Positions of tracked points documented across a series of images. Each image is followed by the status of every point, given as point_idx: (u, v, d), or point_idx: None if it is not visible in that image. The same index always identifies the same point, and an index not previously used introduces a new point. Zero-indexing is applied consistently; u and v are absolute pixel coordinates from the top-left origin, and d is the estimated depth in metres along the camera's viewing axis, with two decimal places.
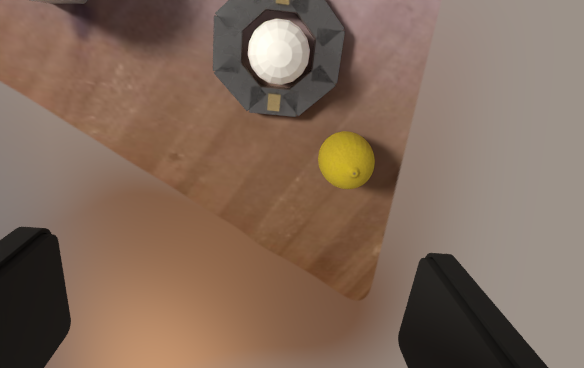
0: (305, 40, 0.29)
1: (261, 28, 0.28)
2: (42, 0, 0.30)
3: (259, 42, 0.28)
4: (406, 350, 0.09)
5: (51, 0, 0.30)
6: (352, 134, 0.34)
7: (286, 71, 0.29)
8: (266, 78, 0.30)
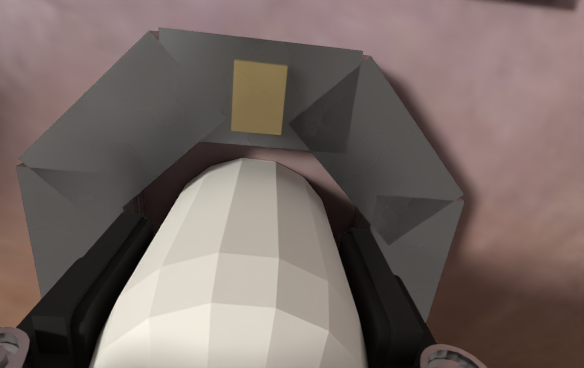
0: None
1: (127, 340, 0.05)
2: None
3: None
4: None
5: None
6: None
7: None
8: None
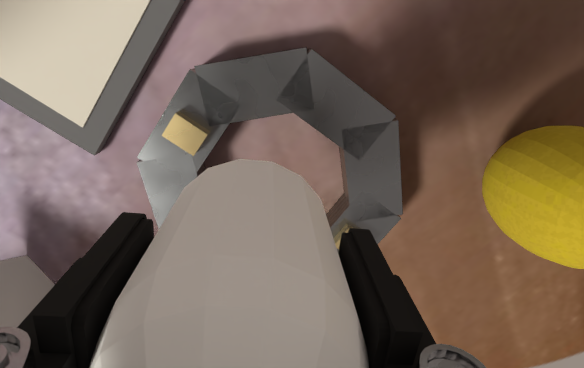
0: None
1: (122, 345, 0.05)
2: None
3: None
4: None
5: None
6: (527, 156, 0.14)
7: None
8: None
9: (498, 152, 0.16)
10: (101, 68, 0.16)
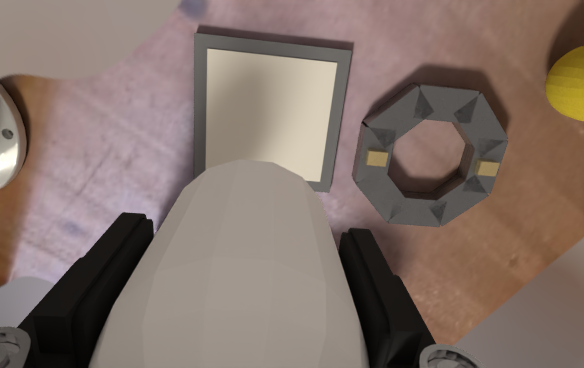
0: None
1: (121, 348, 0.05)
2: None
3: None
4: None
5: None
6: (565, 77, 0.25)
7: None
8: None
9: (548, 79, 0.27)
10: (319, 149, 0.30)
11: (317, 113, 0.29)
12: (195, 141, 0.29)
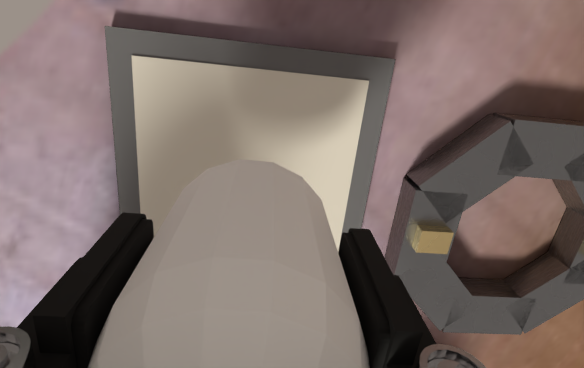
0: None
1: (120, 349, 0.05)
2: None
3: None
4: None
5: None
6: None
7: None
8: None
9: None
10: (333, 222, 0.18)
11: (332, 166, 0.17)
12: None
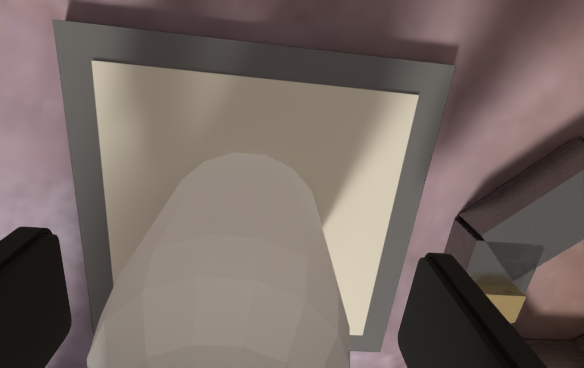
0: (336, 337, 0.06)
1: (124, 313, 0.06)
2: None
3: None
4: (405, 349, 0.09)
5: None
6: None
7: None
8: None
9: None
10: (363, 276, 0.14)
11: (364, 207, 0.13)
12: (88, 267, 0.13)
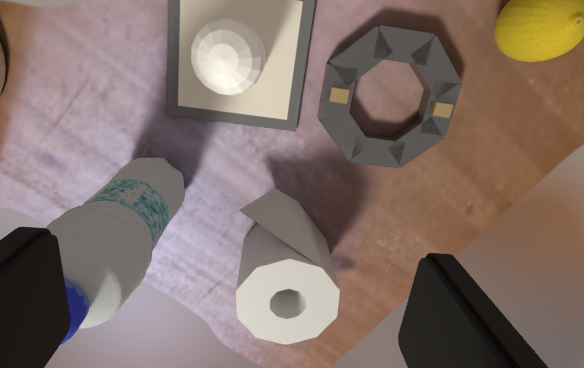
0: (256, 43, 0.24)
1: (203, 29, 0.24)
2: None
3: (200, 46, 0.24)
4: (406, 350, 0.09)
5: None
6: (509, 17, 0.27)
7: (233, 80, 0.24)
8: (212, 88, 0.25)
9: (496, 23, 0.29)
10: (286, 87, 0.32)
11: (284, 51, 0.31)
12: (168, 74, 0.31)
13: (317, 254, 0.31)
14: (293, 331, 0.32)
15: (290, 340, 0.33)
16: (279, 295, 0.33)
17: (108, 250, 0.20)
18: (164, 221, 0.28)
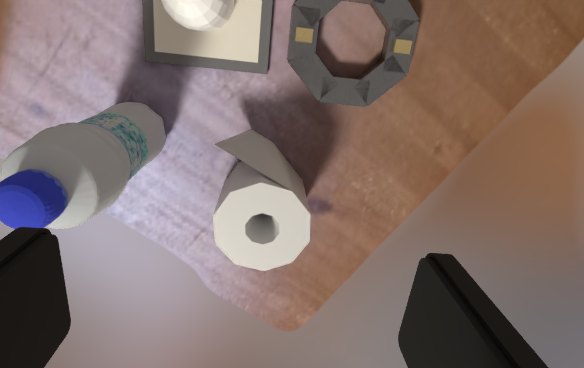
0: None
1: None
2: None
3: None
4: (406, 350, 0.09)
5: None
6: None
7: (198, 9, 0.26)
8: (180, 20, 0.27)
9: None
10: (255, 30, 0.34)
11: None
12: (144, 21, 0.33)
13: (288, 181, 0.33)
14: (269, 257, 0.34)
15: (267, 266, 0.35)
16: (256, 225, 0.35)
17: (84, 152, 0.22)
18: (143, 151, 0.30)
